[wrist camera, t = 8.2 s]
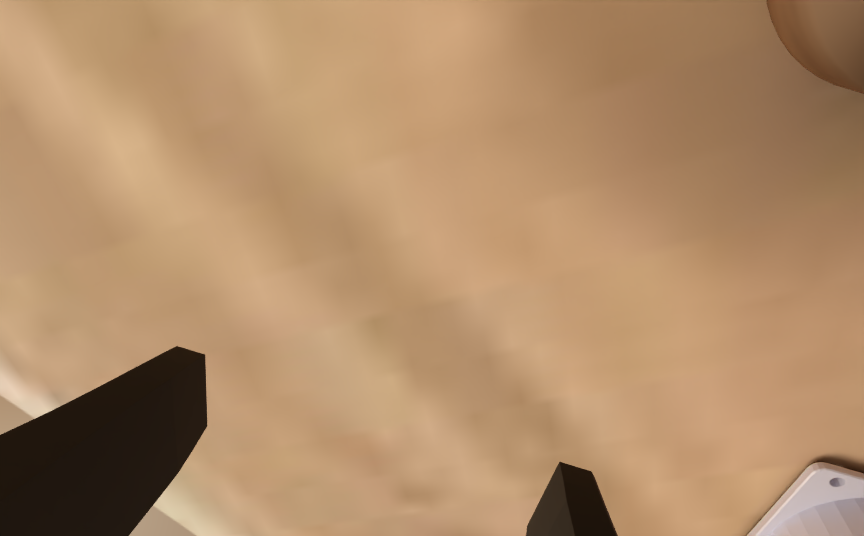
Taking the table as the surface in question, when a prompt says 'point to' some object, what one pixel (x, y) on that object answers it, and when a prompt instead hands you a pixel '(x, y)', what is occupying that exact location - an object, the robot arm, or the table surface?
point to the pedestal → (824, 37)
